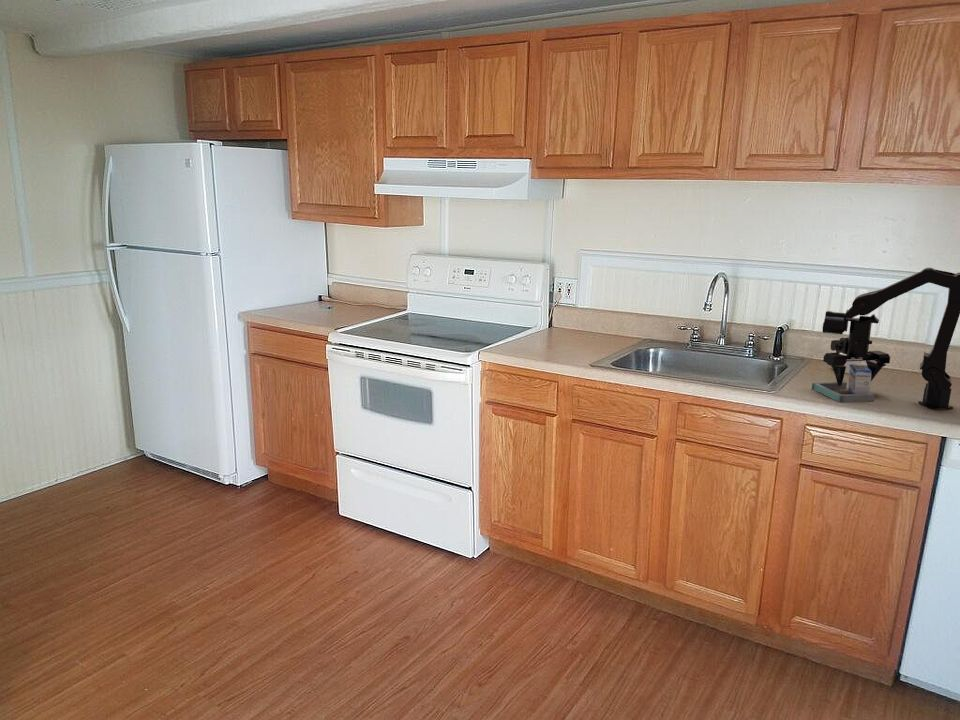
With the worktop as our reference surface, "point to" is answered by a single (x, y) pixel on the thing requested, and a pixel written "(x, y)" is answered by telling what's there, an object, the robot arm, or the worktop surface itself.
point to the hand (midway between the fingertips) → (853, 384)
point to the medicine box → (859, 379)
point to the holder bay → (825, 389)
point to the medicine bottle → (847, 361)
